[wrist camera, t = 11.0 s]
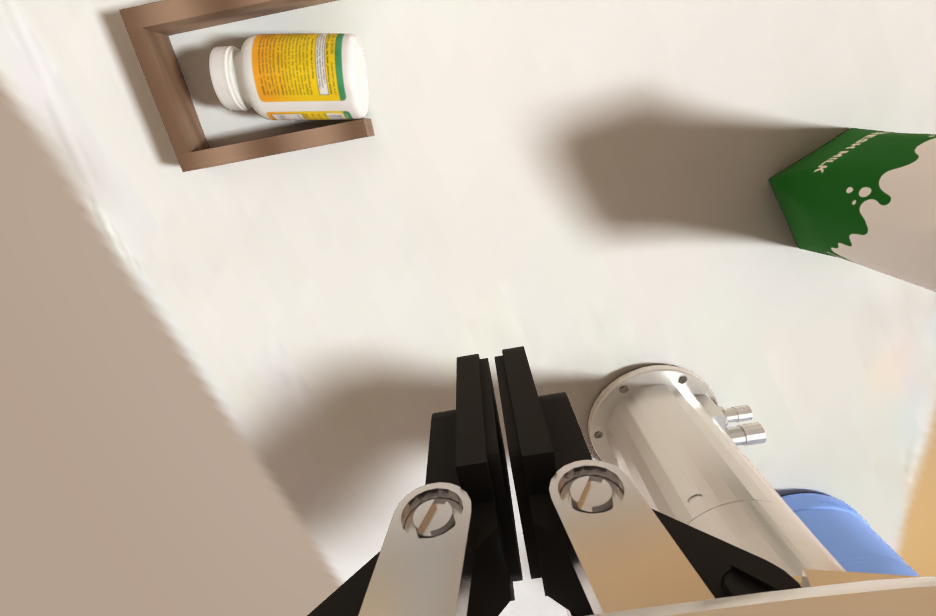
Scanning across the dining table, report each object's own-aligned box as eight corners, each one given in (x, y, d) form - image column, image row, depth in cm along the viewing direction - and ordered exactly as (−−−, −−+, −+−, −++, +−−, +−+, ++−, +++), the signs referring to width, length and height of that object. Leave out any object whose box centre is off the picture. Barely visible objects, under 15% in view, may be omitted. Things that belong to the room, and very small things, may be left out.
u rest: (337, -21, 33) (326, -34, 30) (374, 135, 36) (367, 136, 34) (147, 19, 33) (119, 10, 30) (203, 168, 37) (183, 172, 34)
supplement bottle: (367, 134, 34) (235, 138, 34) (371, 80, 36) (247, 83, 36) (350, 72, 29) (195, 75, 29) (355, 13, 31) (211, 16, 31)
